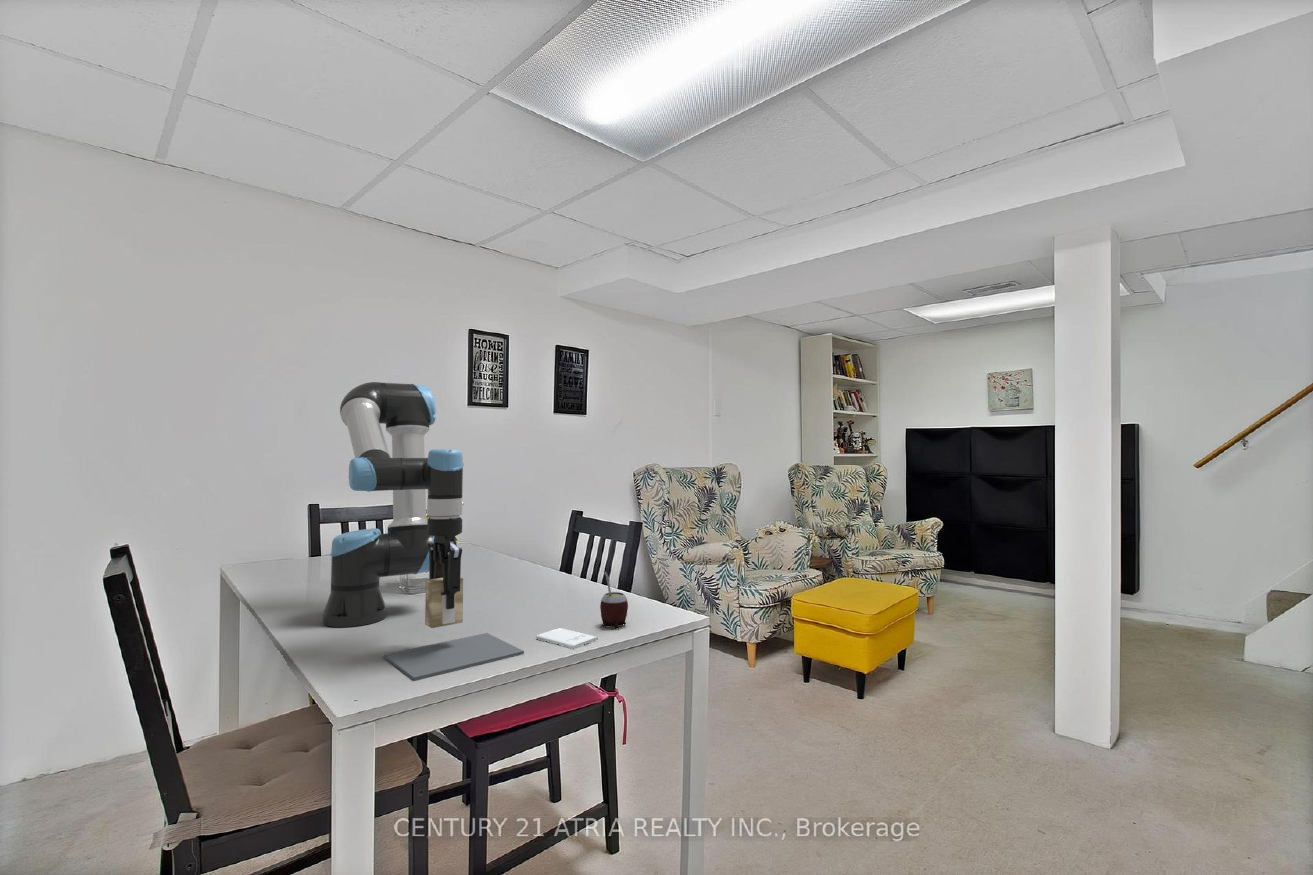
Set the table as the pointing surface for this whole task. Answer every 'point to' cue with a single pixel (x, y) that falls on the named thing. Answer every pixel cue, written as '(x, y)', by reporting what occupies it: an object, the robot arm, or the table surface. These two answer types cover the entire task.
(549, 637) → the external hard drive
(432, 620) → the face block
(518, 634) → the table surface
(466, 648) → the mat
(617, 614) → the mate gourd
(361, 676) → the table surface
